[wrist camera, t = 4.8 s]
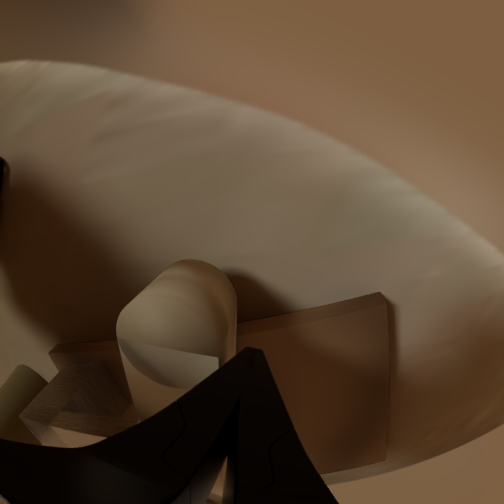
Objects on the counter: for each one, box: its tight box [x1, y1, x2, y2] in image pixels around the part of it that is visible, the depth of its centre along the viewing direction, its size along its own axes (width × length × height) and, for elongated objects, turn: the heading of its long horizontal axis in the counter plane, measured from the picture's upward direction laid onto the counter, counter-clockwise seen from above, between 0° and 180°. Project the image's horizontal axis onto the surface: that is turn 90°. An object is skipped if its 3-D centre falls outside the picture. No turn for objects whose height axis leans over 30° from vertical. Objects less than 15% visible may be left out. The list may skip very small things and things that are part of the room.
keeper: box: [19, 361, 213, 504], centre depth 11 cm, size 9×8×6 cm
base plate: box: [48, 292, 390, 474], centre depth 13 cm, size 18×12×1 cm, turn 106°
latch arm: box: [116, 259, 237, 504], centre depth 10 cm, size 15×4×3 cm, turn 177°
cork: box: [0, 365, 48, 445], centre depth 11 cm, size 6×6×11 cm
